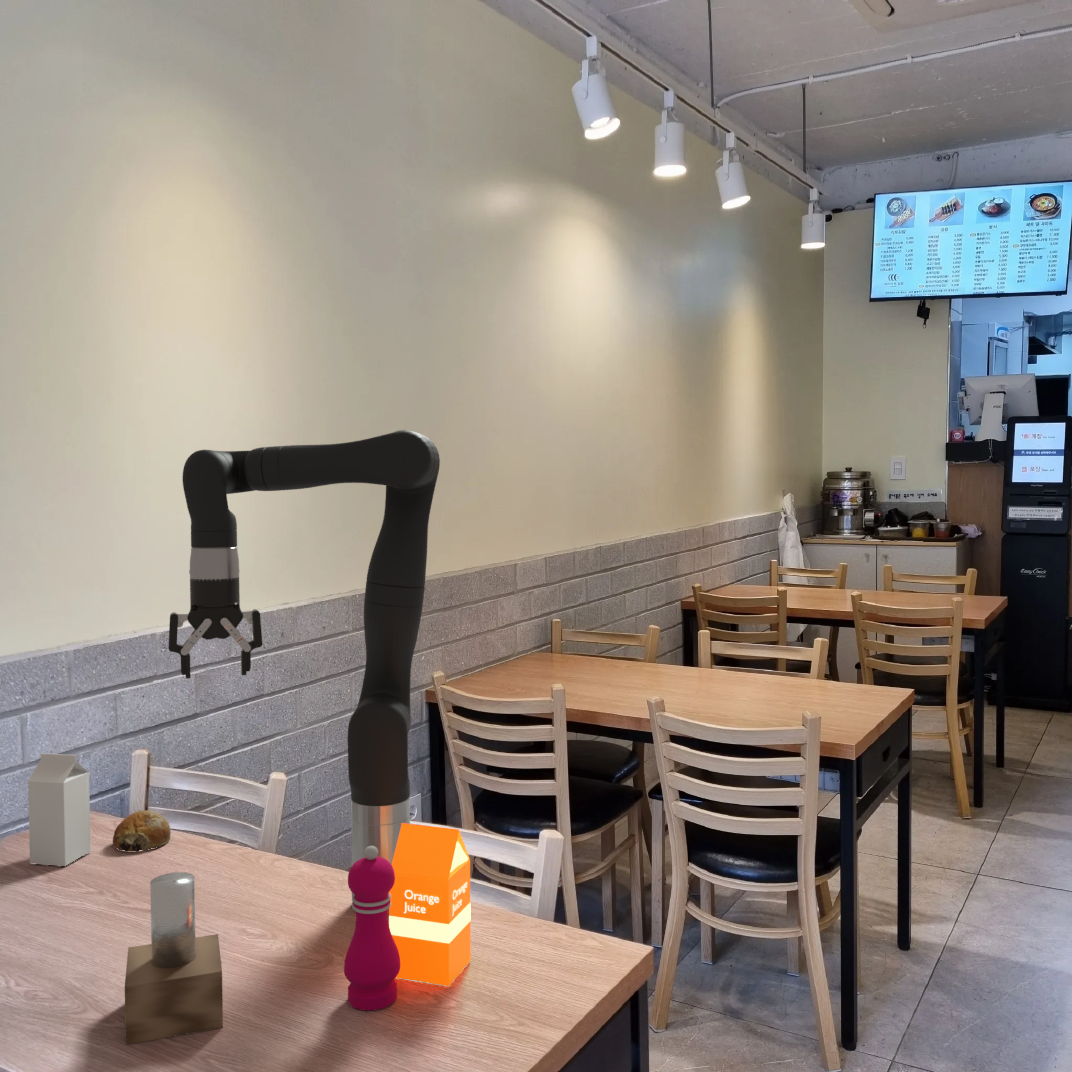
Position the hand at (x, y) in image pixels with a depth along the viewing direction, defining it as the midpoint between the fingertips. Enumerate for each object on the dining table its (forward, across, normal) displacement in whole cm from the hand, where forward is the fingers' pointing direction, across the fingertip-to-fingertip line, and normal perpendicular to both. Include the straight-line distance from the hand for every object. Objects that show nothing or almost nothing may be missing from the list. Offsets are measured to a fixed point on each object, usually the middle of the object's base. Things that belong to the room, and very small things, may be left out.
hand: (216, 676), depth 160 cm
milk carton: (+36, -26, +28) cm, 53 cm away
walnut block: (+36, -7, -36) cm, 51 cm away
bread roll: (+36, -12, +31) cm, 50 cm away
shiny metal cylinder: (+29, -7, -36) cm, 47 cm away
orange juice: (+36, +26, -36) cm, 57 cm away
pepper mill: (+36, +17, -41) cm, 57 cm away
